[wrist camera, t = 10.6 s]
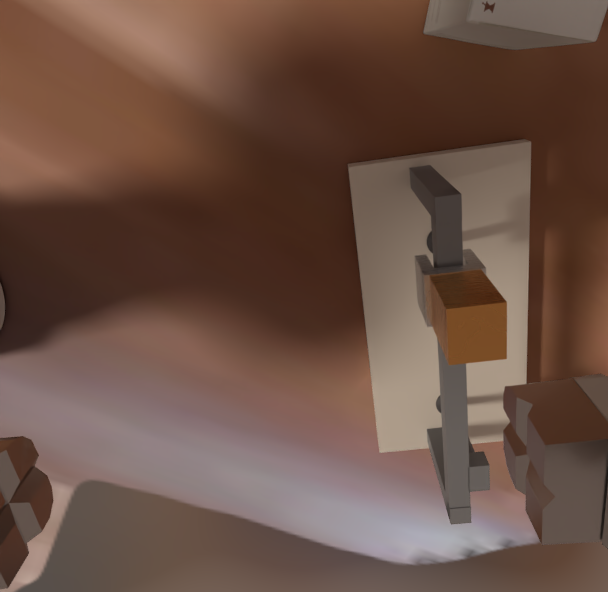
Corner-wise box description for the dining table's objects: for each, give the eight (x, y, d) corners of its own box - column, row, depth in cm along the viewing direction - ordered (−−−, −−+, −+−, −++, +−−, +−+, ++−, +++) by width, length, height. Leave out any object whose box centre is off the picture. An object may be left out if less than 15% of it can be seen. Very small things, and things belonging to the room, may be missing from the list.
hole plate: (378, 442, 55) (392, 535, 44) (347, 163, 44) (356, 196, 33) (520, 429, 54) (570, 520, 43) (524, 139, 43) (592, 164, 32)
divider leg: (403, 269, 45) (443, 366, 31) (400, 227, 44) (440, 309, 29) (451, 263, 45) (514, 358, 30) (449, 221, 43) (514, 300, 29)
